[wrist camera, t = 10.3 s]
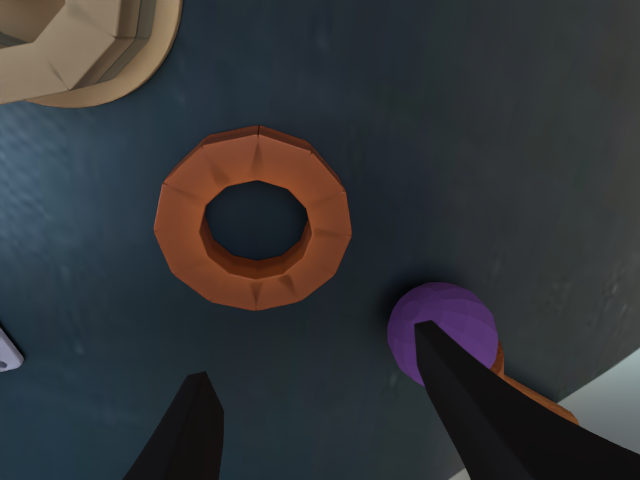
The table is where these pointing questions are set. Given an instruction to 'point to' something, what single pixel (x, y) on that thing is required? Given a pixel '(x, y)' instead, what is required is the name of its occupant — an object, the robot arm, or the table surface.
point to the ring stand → (82, 48)
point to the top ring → (239, 167)
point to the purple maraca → (453, 332)
